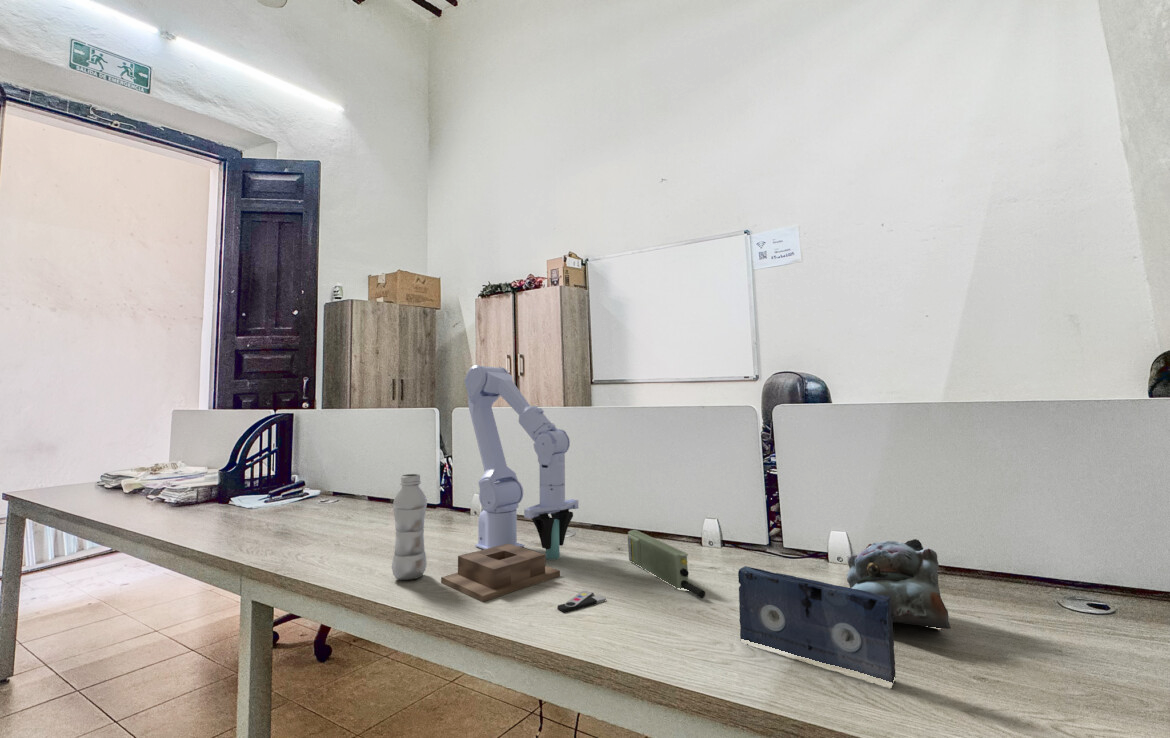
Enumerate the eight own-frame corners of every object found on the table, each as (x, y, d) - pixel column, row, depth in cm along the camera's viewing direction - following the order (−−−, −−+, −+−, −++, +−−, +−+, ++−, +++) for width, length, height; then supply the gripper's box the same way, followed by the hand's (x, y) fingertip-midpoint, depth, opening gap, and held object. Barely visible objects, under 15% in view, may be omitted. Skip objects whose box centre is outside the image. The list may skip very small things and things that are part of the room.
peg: (543, 557, 109) (543, 520, 109) (553, 554, 111) (553, 518, 111) (552, 560, 107) (552, 522, 107) (562, 557, 109) (562, 520, 109)
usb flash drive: (563, 615, 79) (563, 609, 79) (547, 604, 83) (547, 598, 83) (606, 603, 84) (606, 597, 84) (589, 593, 88) (589, 588, 88)
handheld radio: (640, 560, 107) (711, 600, 84) (627, 562, 106) (695, 604, 83) (638, 528, 107) (708, 560, 84) (625, 531, 106) (692, 563, 83)
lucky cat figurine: (821, 617, 76) (819, 527, 83) (873, 636, 80) (867, 548, 87) (920, 623, 64) (908, 517, 71) (976, 644, 68) (959, 542, 75)
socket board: (441, 582, 94) (441, 558, 94) (516, 561, 106) (516, 539, 107) (482, 601, 84) (482, 574, 84) (560, 575, 97) (559, 552, 97)
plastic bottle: (431, 572, 99) (433, 472, 101) (417, 584, 93) (419, 477, 94) (401, 572, 100) (403, 472, 102) (384, 583, 93) (387, 477, 95)
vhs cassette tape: (897, 682, 58) (892, 595, 59) (892, 693, 56) (886, 602, 57) (748, 636, 70) (745, 564, 71) (739, 643, 68) (736, 569, 69)
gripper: (539, 490, 102) (539, 557, 101) (587, 482, 112) (588, 543, 111) (518, 486, 107) (518, 550, 106) (566, 479, 117) (567, 537, 116)
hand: (552, 546), depth 109 cm, fingers open, 3 cm apart
